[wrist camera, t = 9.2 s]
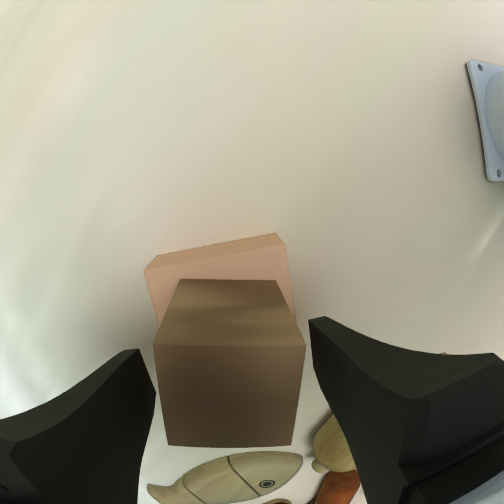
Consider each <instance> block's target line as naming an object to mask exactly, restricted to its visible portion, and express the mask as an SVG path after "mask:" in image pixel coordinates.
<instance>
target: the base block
mask: <svg viewBox="0 0 504 504" xmlns="http://www.w3.org/2000/svg"><path fill="white" fill-rule="evenodd" d="M144 274H145V277H146V281H147V285H148V288H149V292H150V295H151V299H152V302H153V306H154V309H155V312H156V316H157V319H158V322H159V325H161V323H162V320H163V318H164V316H165V313H166V311H167V308H168V306H169V304H170V301H171V299H172V297H173V294H174V292H175V290H176V287H177V285H178V283H179V280H180V279H224V280H276V281H277V283H278V286H279V288H280V290H281V292H282V294H283V296H284V298H285V300H286V303H287V305H288V307H289V309H290V311H291V313H292V315H293V318H294V320H295V322H296V317H295V309H294V302H293V295H292V289H291V282H290V275H289V268H288V262H287V255H286V249H285V244H284V242H283V241H282V240H281V239H280V238H279V236H278V235H277V234H276V233H272V234H267V235H261V236H256V237H251V238H245V239H240V240H235V241H229V242H224V243H219V244H214V245H209V246H203V247H198V248H193V249H188V250H183V251H178V252H173V253H168V254H162V255H157V256H156V257H155V258H154V260H153V261H152V262H151V263H150V264H149V265H148V266H147V268H146V269H145V270H144Z"/></svg>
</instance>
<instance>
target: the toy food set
mask: <svg viewBox="0 0 504 504" xmlns="http://www.w3.org/2000/svg"><path fill="white" fill-rule="evenodd" d="M441 354H446V353H441ZM313 452H314V456H315V458H316V459H314V460H313V462H312V468H313V469H314V470H315V471H316V472H318V473H324V472H325V471H326V470H327V469H328V470H331V472H329V473H328V474H327V476H326V477H325V480H324V482H323V484H322V486H321V488H320V490H319V493H318V495H317V497H316V499H314V500H312V501H311V502H310V503H309V504H349V503H350V502H351V500H352V499H353V497H354V495H355V494H356V492H357V490H358V488H359V487H360V483H361V481H360V478H359V475H358V472H357V471H356V470H355V468H356V466H355V463H354V460H353V457H352V454H351V451H350V448H349V446H348V443H347V440H346V438H345V436H344V434H343V431H342V429H341V427H340V425H339V423H338V422H337V420H336V418H335V416H334V414H333V415H332V416H331V417H330V418H329V419H328V420H327V422H326V423H325V424H324V425H323V426H322V427H321V428H320V429H319V430H318V431H317V433H316V435H315V437H314V440H313ZM302 463H303V459H302V456H301V455H299V454H296V453H290V452H279V451H257V452H246V453H239V454H233V455H229V456H224V457H221V458H218V459H215V460H212V461H209V462H206V463H204V464H201V465H199V466H197V467H195V468H193V469H191V470H190V471H188V472H187V473H185V474H184V475H183V477H181V478H179V479H178V480H177V481H176V482H175V483H174V484H173V485H171V486H159V485H153V484H147V491H148V493H149V494H150V495H151V496H152V497H153V498H154V499H155V500H156V501H158V502H159V503H160V504H229V503H236V502H242V501H247V500H251V499H255V498H258V497H260V496H264V495H266V494H269V493H271V492H273V491H275V490H277V489H279V488H280V487H282V486H283V485H284V484H286V483H287V482H288V481H289V480H290V479H291V478H292V477H293V476H294V475H295V474H296V473H297V472H298V471H299V469H300V468H301V466H302ZM263 504H291V501H289V500H287V499H274V500H271V501H269V502H266V503H263Z"/></svg>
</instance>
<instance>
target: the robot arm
mask: <svg viewBox="0 0 504 504" xmlns="http://www.w3.org/2000/svg"><path fill="white" fill-rule="evenodd" d="M467 68H468V72H469V76H470V79H471V84H472V88H473V92H474V96H475V101H476V106H477V111H478V116H479V122H480V127H481V134H482V140H483V147H484V155H485V164H486V174H487V178H488V180H490V181H494V182H495V181H504V67H502V66H498V65H494V64H490V63H485V62H481V61H476V60H470V61H468V62H467ZM478 68H479V69H478ZM308 322H309V331H310V339H311V349H312V358H313V367H314V370H315V373H316V376H317V379H318V382H319V385H320V388H321V390H322V392H323V394H324V396H325V398H326V400H327V402H328V404H329V406H330V408H331V410H332V412H333V414H334V416H335V418H336V420H337V422H338V423H339V425H340V427H341V429H342V431H343V434H344V436H345V438H346V440H347V443H348V446H349V448H350V451H351V454H352V457H353V460H354V463H355V466H356V469H357V472H358V475H359V478H360V481H361V484H362V487H363V490H364V494H365V497H366V500H367V504H504V361H503V360H502V359H501V358H499V357H498V356H497V355H495V354H494V353H484V354H470V355H447V354H434V353H426V352H419V351H413V350H408V349H404V348H400V347H396V346H393V345H389V344H386V343H383V342H380V341H378V340H375V339H372V338H370V337H367V336H365V335H363V334H360V333H358V332H356V331H354V330H352V329H350V328H348V327H346V326H344V325H342V324H340V323H338V322H336V321H334V320H332V319H330V318H328V317H326V316H323V317H319V318H314V319H310V320H308ZM155 398H156V391H155V388H154V386H153V384H152V381H151V379H150V376H149V374H148V371H147V368H146V366H145V363H144V361H143V358H142V355H141V353H140V350H139V349H130V350H124V351H122V352H120V353H119V354H117V355H116V356H114V357H113V358H111V359H110V360H109V361H107V362H106V363H105V364H103V365H102V366H101V367H99V368H98V369H97V370H96V371H94V372H93V373H92V374H90V375H89V376H88V377H86V378H85V379H83V380H82V381H80V382H79V383H78V384H76V385H75V386H73V387H72V388H70V389H69V390H67V391H66V392H64V393H62V394H61V395H59V396H57V397H55V398H54V399H52V400H50V401H48V402H46V403H44V404H42V405H39V406H37V407H35V408H33V409H30V410H28V411H26V412H23V413H20V414H17V415H14V416H11V417H8V418H4V419H0V504H137V499H138V484H139V474H140V467H141V462H142V457H143V453H144V450H145V446H146V442H147V438H148V434H149V431H150V427H151V423H152V419H153V415H154V408H155Z"/></svg>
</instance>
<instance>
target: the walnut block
mask: <svg viewBox="0 0 504 504" xmlns="http://www.w3.org/2000/svg"><path fill="white" fill-rule="evenodd" d="M153 347H154V356H155V364H156V372H157V380H158V387H159V394H160V400H161V407H162V413H163V419H164V425H165V430H166V436H167V441H168V445H172V446H187V447H211V448H249V447H273V446H288V445H291V442H292V436H293V430H294V424H295V418H296V412H297V406H298V399H299V393H300V386H301V379H302V372H303V365H304V358H305V350H306V343H305V341H304V339H303V337H302V335H301V333H300V331H299V328H298V326H297V324H296V322H295V320H294V318H293V315H292V313H291V311H290V309H289V307H288V305H287V303H286V300H285V298H284V296H283V294H282V292H281V290H280V288H279V286H278V283H277V281H276V280H224V279H180V280H179V283H178V285H177V287H176V290H175V292H174V294H173V297H172V299H171V301H170V304H169V306H168V308H167V311H166V313H165V316H164V318H163V320H162V323H161V325H160V328H159V330H158V333H157V335H156V337H155V340H154V342H153Z"/></svg>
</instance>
